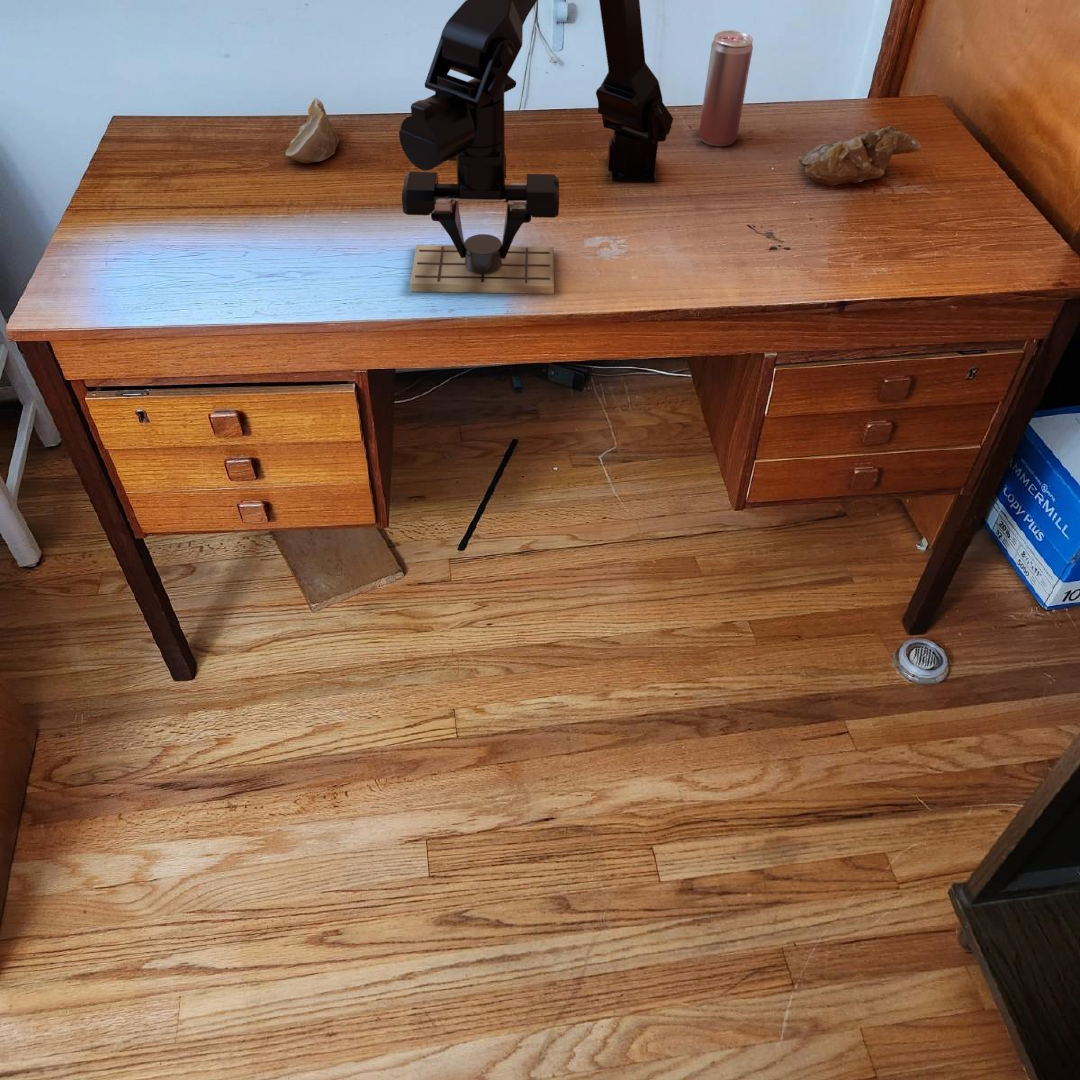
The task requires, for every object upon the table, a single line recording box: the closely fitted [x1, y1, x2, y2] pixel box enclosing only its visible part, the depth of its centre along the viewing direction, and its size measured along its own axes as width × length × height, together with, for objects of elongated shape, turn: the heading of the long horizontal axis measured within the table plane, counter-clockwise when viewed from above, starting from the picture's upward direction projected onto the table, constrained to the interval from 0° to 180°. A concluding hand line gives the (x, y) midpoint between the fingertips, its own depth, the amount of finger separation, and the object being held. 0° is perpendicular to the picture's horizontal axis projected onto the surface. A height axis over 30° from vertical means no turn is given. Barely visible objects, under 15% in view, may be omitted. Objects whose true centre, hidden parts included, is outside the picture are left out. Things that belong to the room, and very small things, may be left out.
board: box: [409, 244, 555, 295], centre depth 123 cm, size 18×9×1 cm, turn 90°
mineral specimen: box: [797, 125, 922, 187], centre depth 141 cm, size 13×7×15 cm
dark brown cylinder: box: [464, 233, 502, 274], centre depth 122 cm, size 5×5×3 cm
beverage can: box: [698, 30, 754, 148], centre depth 144 cm, size 6×6×15 cm
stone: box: [285, 97, 339, 164], centre depth 144 cm, size 7×6×15 cm
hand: (483, 256), depth 122 cm, fingers closed on dark brown cylinder, 5 cm apart
